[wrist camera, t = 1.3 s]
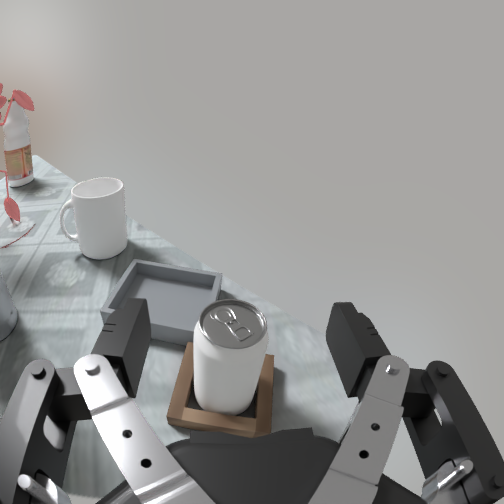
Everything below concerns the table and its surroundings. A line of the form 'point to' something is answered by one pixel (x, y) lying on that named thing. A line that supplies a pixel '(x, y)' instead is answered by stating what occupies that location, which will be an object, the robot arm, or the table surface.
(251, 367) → the can
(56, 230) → the table surface
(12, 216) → the figurine
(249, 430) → the walnut collar
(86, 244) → the mug
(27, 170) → the fruit juice
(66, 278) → the table surface
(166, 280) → the grey shallow rectangular tray
